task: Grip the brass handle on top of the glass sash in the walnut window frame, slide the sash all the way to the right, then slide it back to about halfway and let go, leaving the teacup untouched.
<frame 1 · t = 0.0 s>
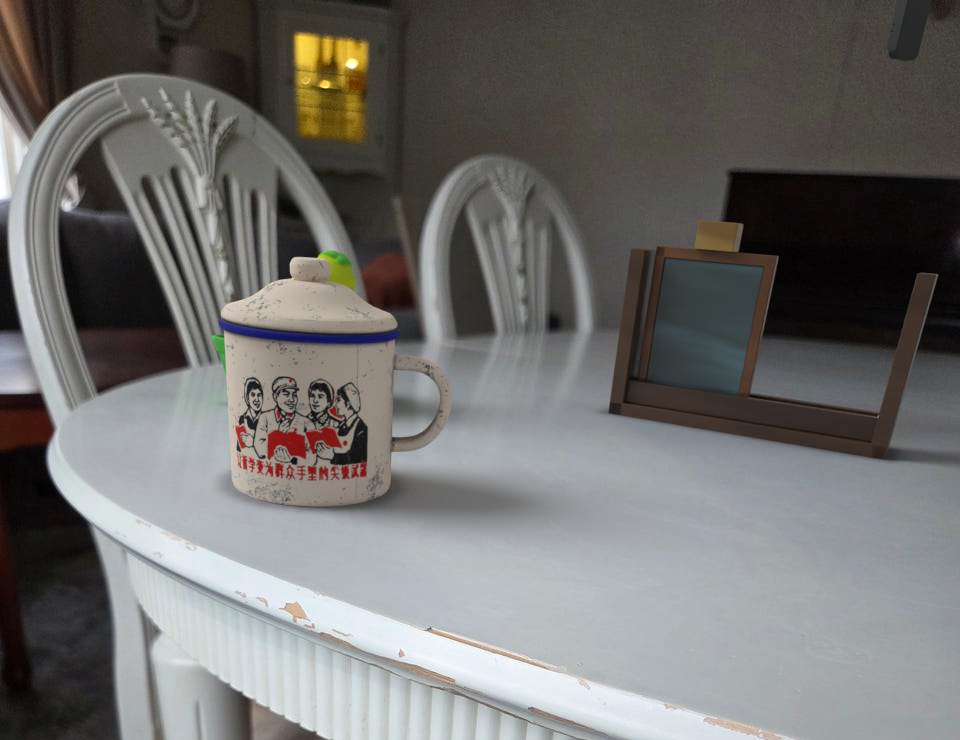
hand: (950, 51, 59), 27 cm above the table, tool pointing down, fingers open, 8 cm apart
sash: (704, 317, 68), point 8 cm above the table, slide at 0.0 cm
fruit basket: (301, 406, 68), on the table
window frame: (742, 433, 70), on the table
teacup with lid: (338, 491, 48), on the table
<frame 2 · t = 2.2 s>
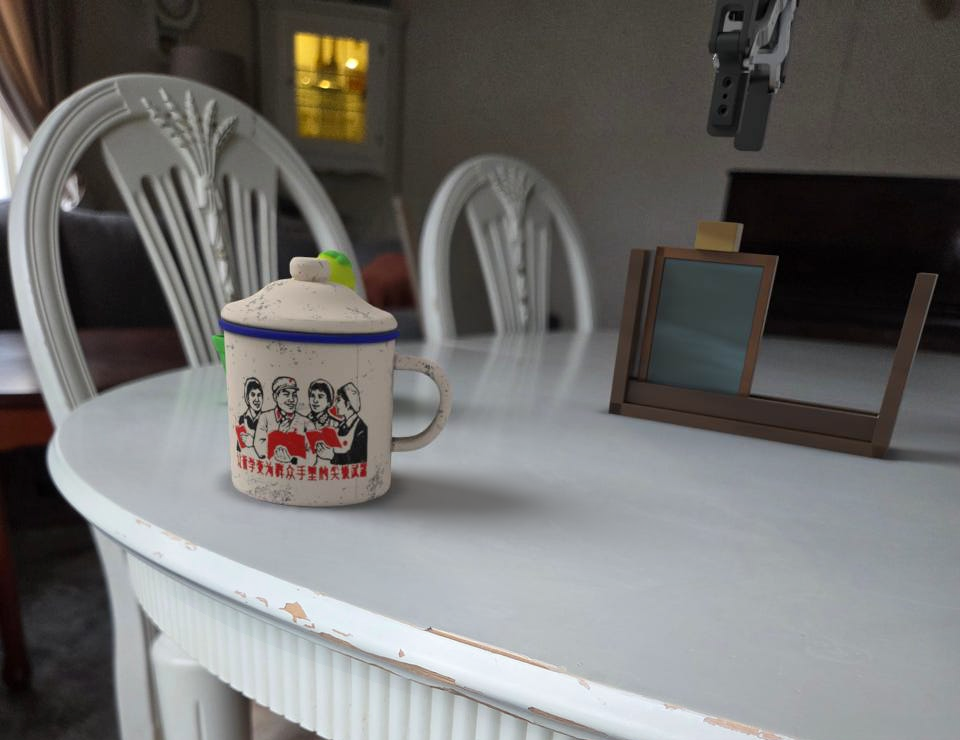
hand: (735, 144, 63), 20 cm above the table, tool pointing down, fingers open, 8 cm apart
nothing on the table moved.
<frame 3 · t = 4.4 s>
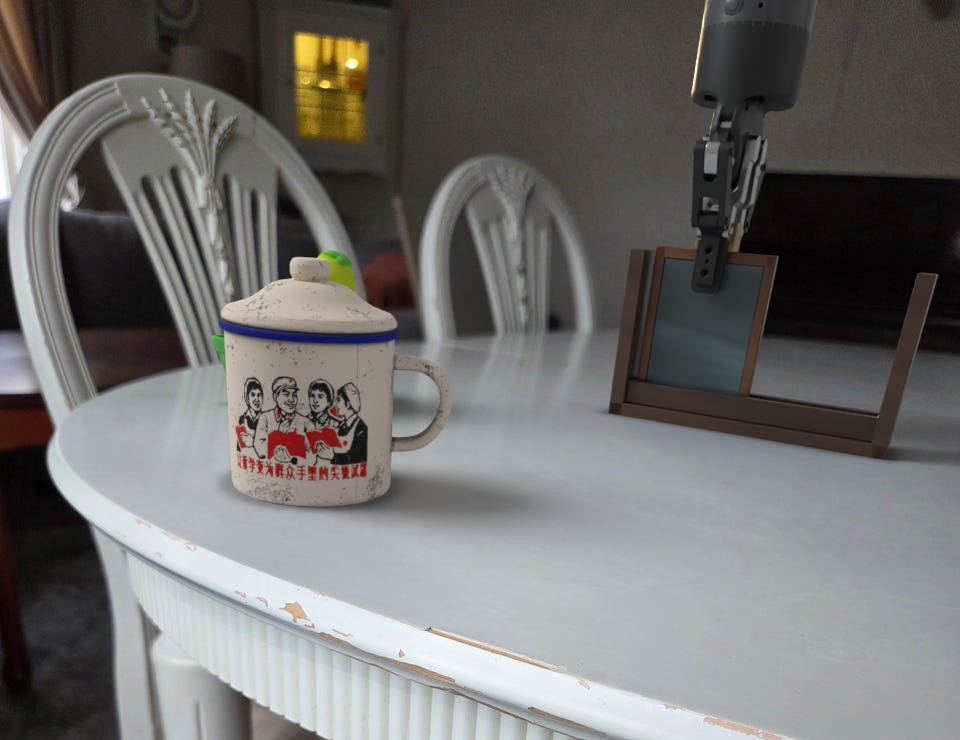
hand: (709, 291, 68), 10 cm above the table, tool pointing down, fingers closed on sash, 2 cm apart
sash: (704, 317, 68), point 8 cm above the table, slide at 0.0 cm, touching gripper
everything else where it was.
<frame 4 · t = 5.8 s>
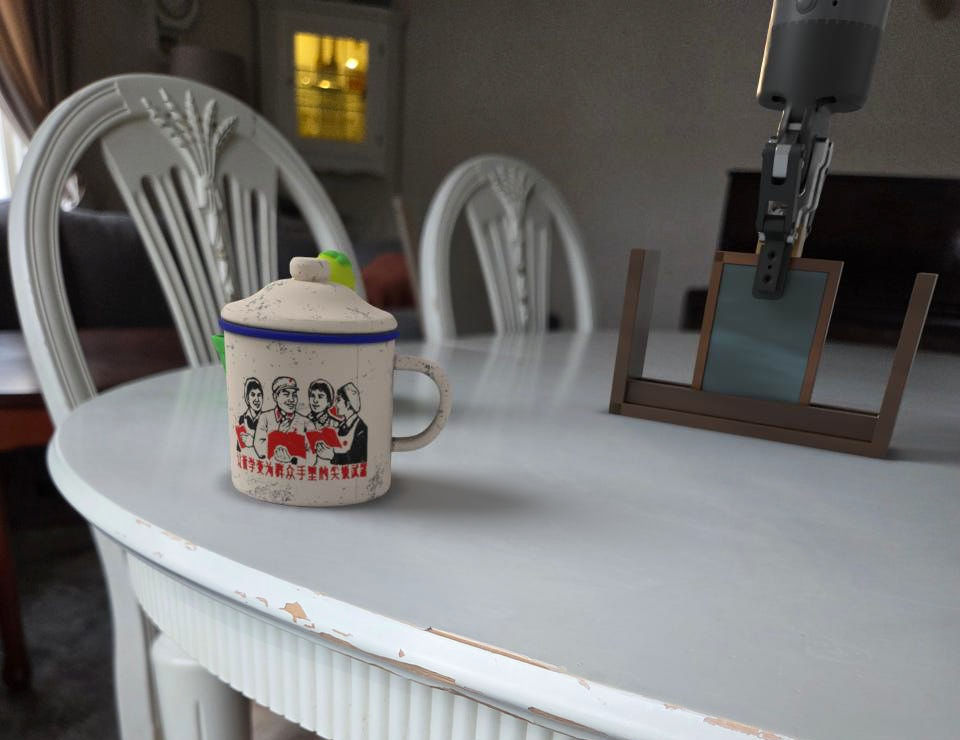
hand: (769, 297, 66), 10 cm above the table, tool pointing down, fingers closed on sash, 2 cm apart
sash: (763, 324, 67), point 8 cm above the table, slide at 4.7 cm, touching gripper
everything else where it was.
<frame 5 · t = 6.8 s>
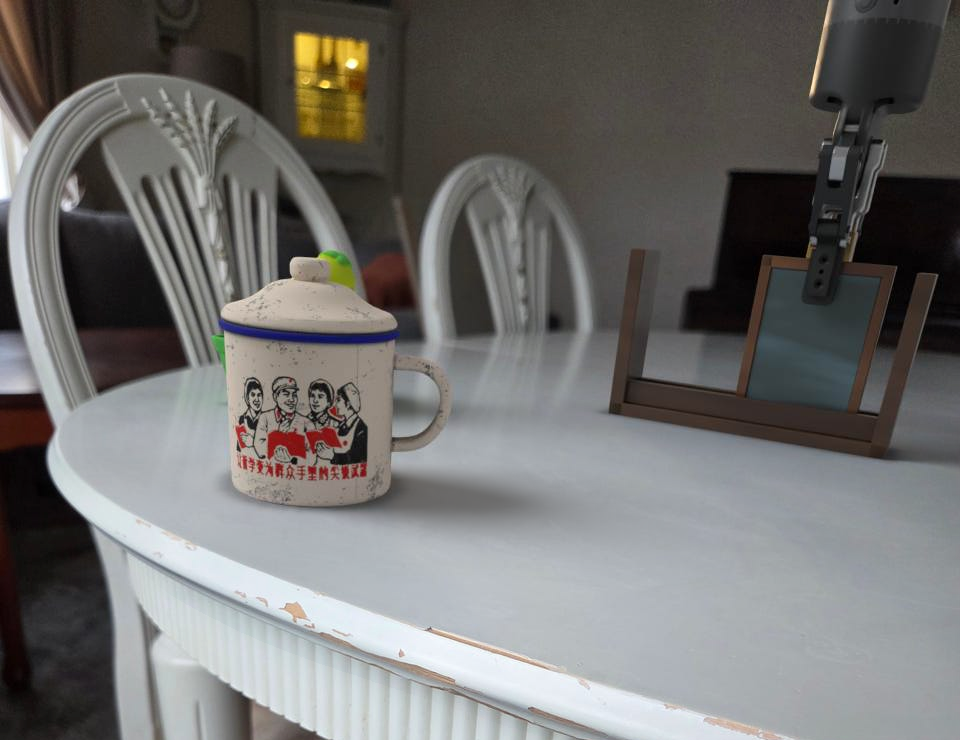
hand: (818, 302, 64), 10 cm above the table, tool pointing down, fingers closed on sash, 2 cm apart
sash: (812, 330, 65), point 8 cm above the table, slide at 8.4 cm, touching gripper
everything else where it was.
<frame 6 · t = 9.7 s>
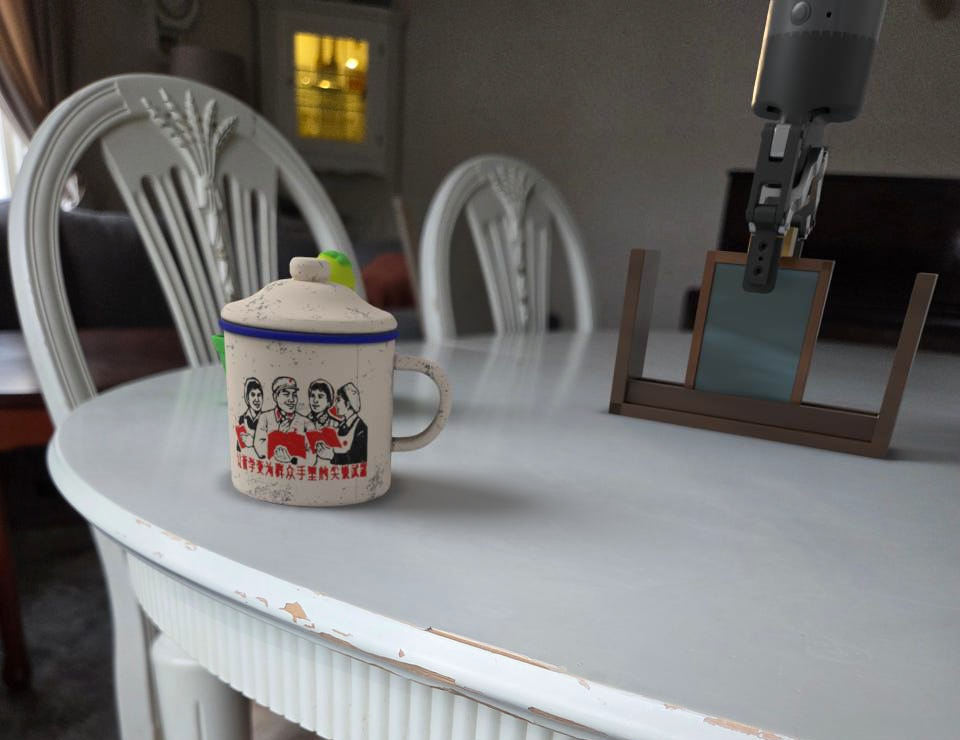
hand: (768, 291, 66), 11 cm above the table, tool pointing down, fingers open, 8 cm apart
sash: (755, 323, 67), point 8 cm above the table, slide at 4.1 cm
everything else where it was.
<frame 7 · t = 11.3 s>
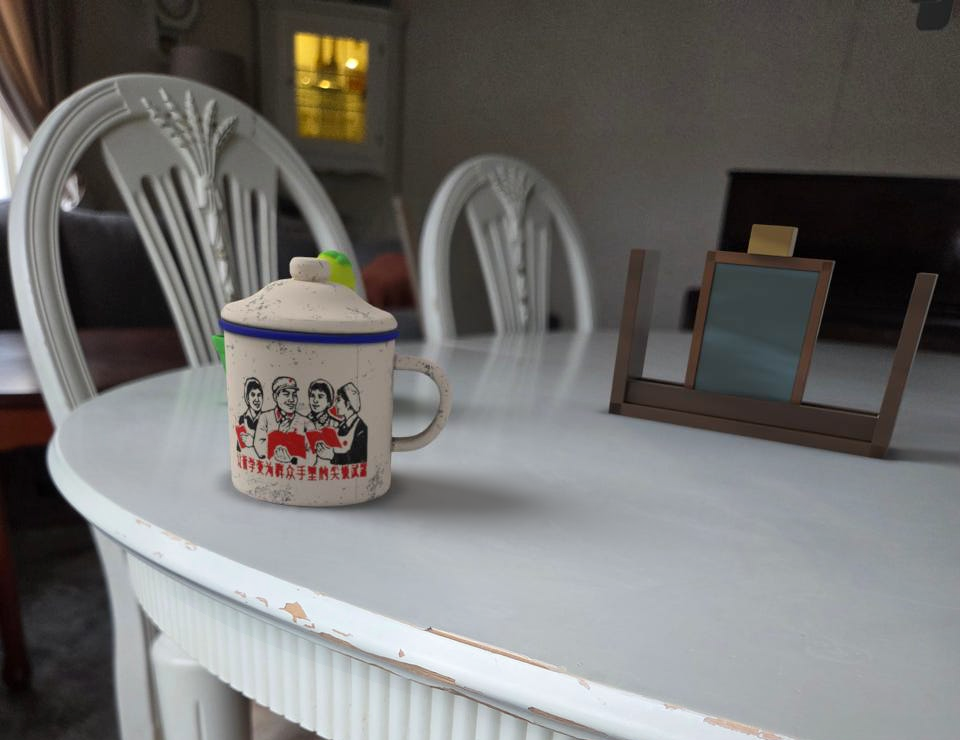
hand: (928, 16, 58), 29 cm above the table, tool pointing down, fingers open, 8 cm apart
nothing on the table moved.
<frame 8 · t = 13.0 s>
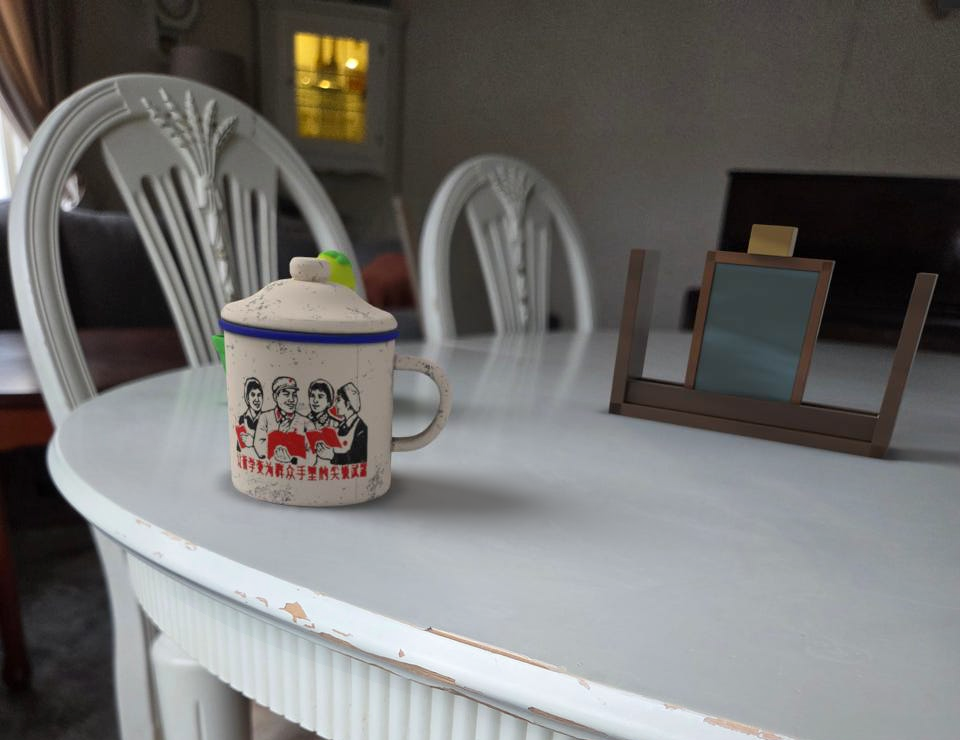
nothing on the table moved.
at the end: sash pulled out 8.4 cm at the most during the clip, back to 4.1 cm at the end; sash slide at 4.1 cm; teacup with lid moved 0.2 cm from its start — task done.
